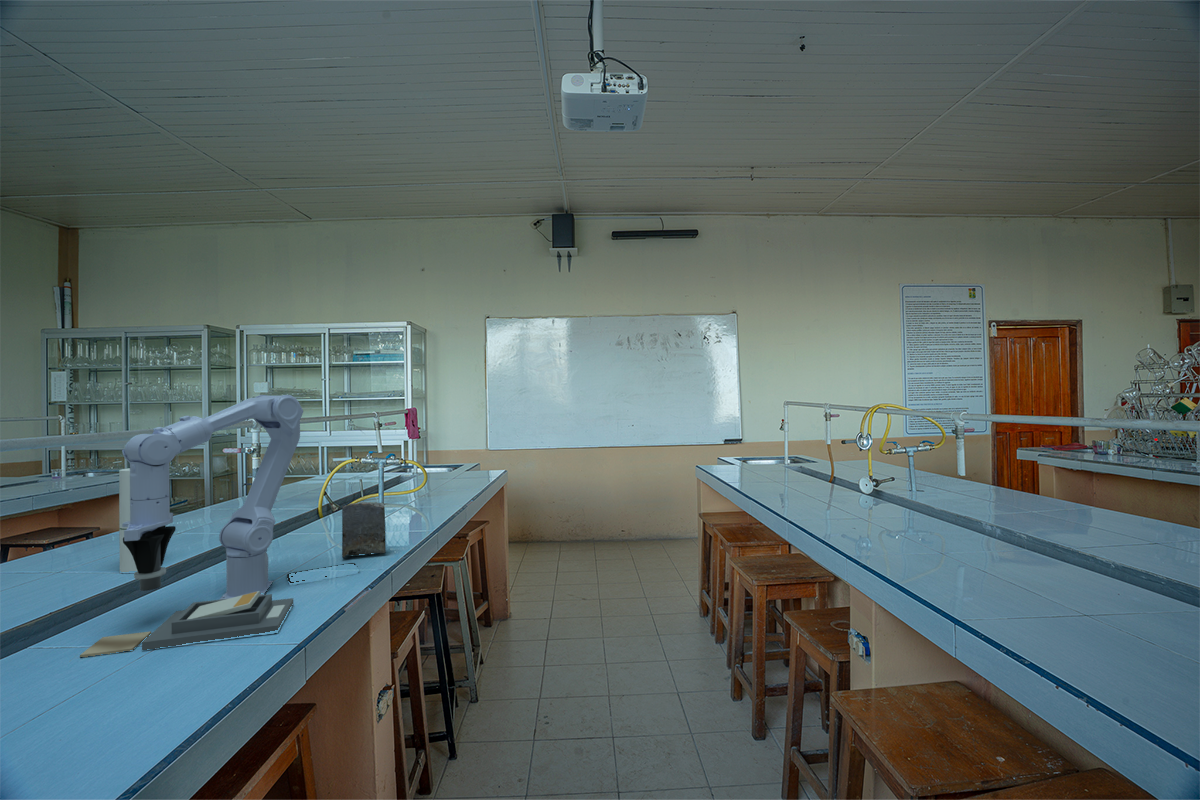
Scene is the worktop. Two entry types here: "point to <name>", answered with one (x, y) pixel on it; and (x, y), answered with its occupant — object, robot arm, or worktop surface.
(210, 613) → the rocker switch
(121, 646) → the pad
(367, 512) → the geological specimen
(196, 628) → the switch panel
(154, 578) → the dark round-ended cylinder
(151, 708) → the worktop surface
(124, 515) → the cylindrical container
